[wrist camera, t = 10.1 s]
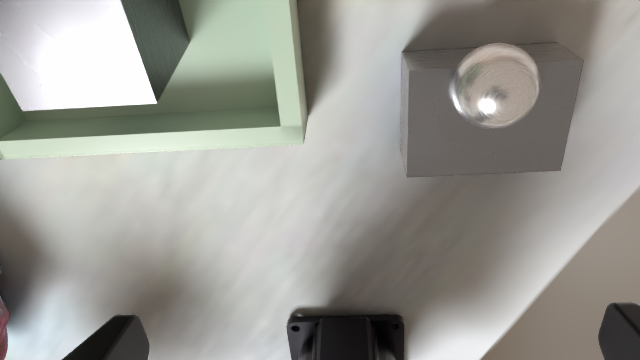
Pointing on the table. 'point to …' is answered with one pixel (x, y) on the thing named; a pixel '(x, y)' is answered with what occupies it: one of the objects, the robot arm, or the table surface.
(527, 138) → the stud mount
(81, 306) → the table surface
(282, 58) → the tray
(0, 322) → the brake caliper
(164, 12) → the strut
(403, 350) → the robot arm
